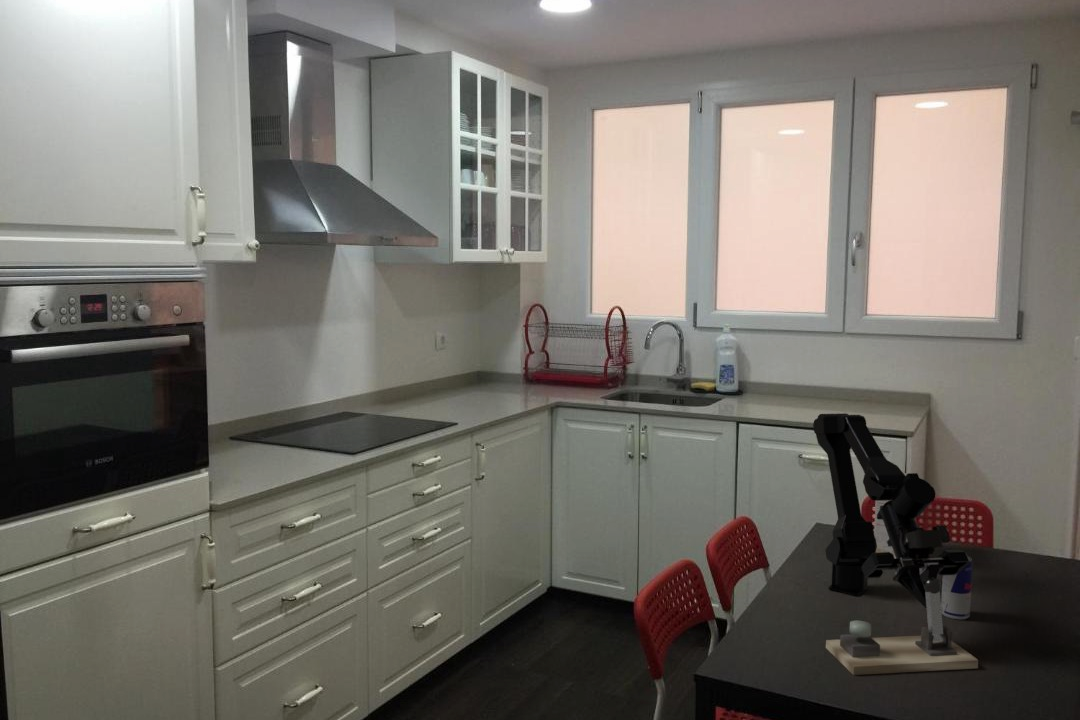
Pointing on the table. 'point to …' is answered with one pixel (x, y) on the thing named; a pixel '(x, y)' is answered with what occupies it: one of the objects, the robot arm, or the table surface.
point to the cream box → (882, 531)
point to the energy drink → (957, 593)
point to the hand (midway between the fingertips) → (930, 607)
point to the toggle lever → (934, 610)
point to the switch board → (899, 654)
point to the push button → (860, 628)
